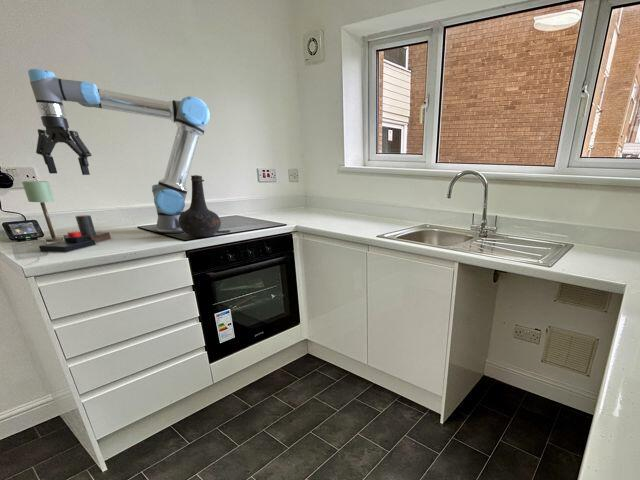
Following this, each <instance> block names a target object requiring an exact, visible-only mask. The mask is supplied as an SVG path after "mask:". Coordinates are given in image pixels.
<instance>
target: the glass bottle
mask: <svg viewBox="0 0 640 480" xmlns="http://www.w3.org/2000/svg"><path fill="white" fill-rule="evenodd" d="M190 178H191V179H190V180H191V202H190V206H189V208H188V209H186V210H184V212H183V213H182V214H181V215H180V217H179V225H180V227H181V229H182V230H183V231H184V232H183V233H185V234H186V235H188V236H190V237H196V238H209V237H212V236H214V235H216V234H218V233H217V232H218V231H220V230H221V225H222V221H221V218H220V216H219V215H218V214H217V213H216V212H214V211H213V210H210V209H209V208H208V207H207V204H206V198H205V192H204V185H203V182H205V180H204V179H203V176H202V175H199V174H194V175H190Z"/></svg>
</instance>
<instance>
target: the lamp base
mask: <svg viewBox="0 0 640 480" xmlns="http://www.w3.org/2000/svg"><path fill="white" fill-rule="evenodd" d="M96 245H97V244H96V243H95V240H90V239H87V236H86V235H81V237H69V236H65V237H64V236H63V240H62V241H58V242H49V243H46V244H41V245H38V248H39V250H40V252H46V253H48V252H49V253H68V252H72V251H76V250H79V249H84V248H88V247H92V246H96Z"/></svg>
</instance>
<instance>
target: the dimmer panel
mask: <svg viewBox="0 0 640 480" xmlns="http://www.w3.org/2000/svg"><path fill="white" fill-rule="evenodd" d="M95 233H96V234H95V235H88V236H87V239H90V240H95V244H96V243H100V242H104V241H107V240H111V239H112V238H111V237H112V236H111V233H110V232H109V231H107V232H106V231H95ZM65 236H68V234H64V235H63V238H64V237H65Z"/></svg>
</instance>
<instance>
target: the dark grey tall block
mask: <svg viewBox="0 0 640 480" xmlns="http://www.w3.org/2000/svg"><path fill="white" fill-rule="evenodd" d="M75 220H76V223H77V226H78V230H79V232H81V235H86V236H88V235H95V234H96V233H95V232H96V230H95V226H94V222H93V220H92V215H88V214H84V215H82V214H81V215H75Z"/></svg>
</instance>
